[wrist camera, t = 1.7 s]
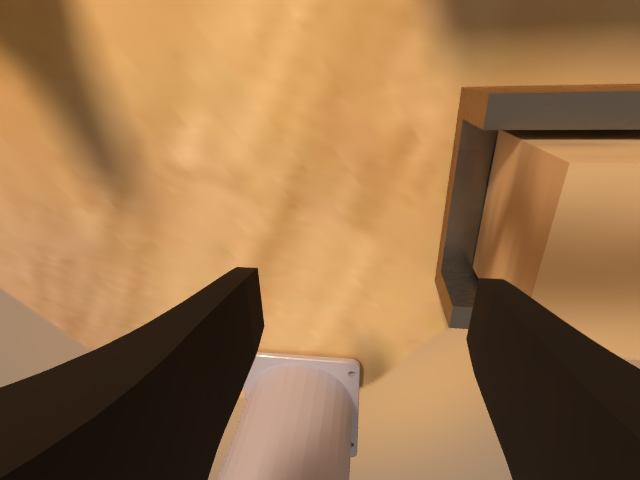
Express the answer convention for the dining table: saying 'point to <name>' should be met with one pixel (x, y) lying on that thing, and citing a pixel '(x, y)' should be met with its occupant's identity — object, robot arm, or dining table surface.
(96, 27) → the dining table surface
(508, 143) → the oak block
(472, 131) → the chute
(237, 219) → the dining table surface
